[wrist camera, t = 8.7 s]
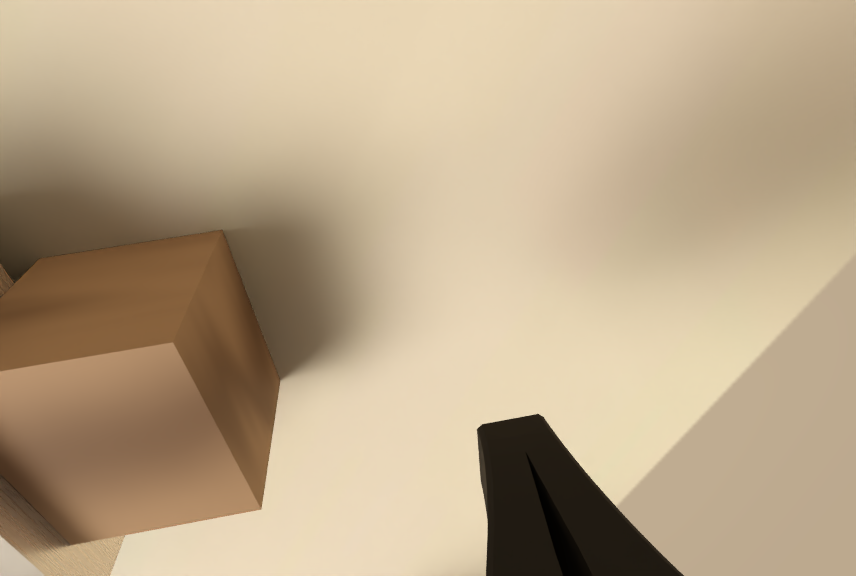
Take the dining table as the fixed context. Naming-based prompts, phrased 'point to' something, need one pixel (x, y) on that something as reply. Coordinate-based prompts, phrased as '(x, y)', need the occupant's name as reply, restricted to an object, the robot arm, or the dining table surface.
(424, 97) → the dining table surface
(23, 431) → the walnut block
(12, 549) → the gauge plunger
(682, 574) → the robot arm
